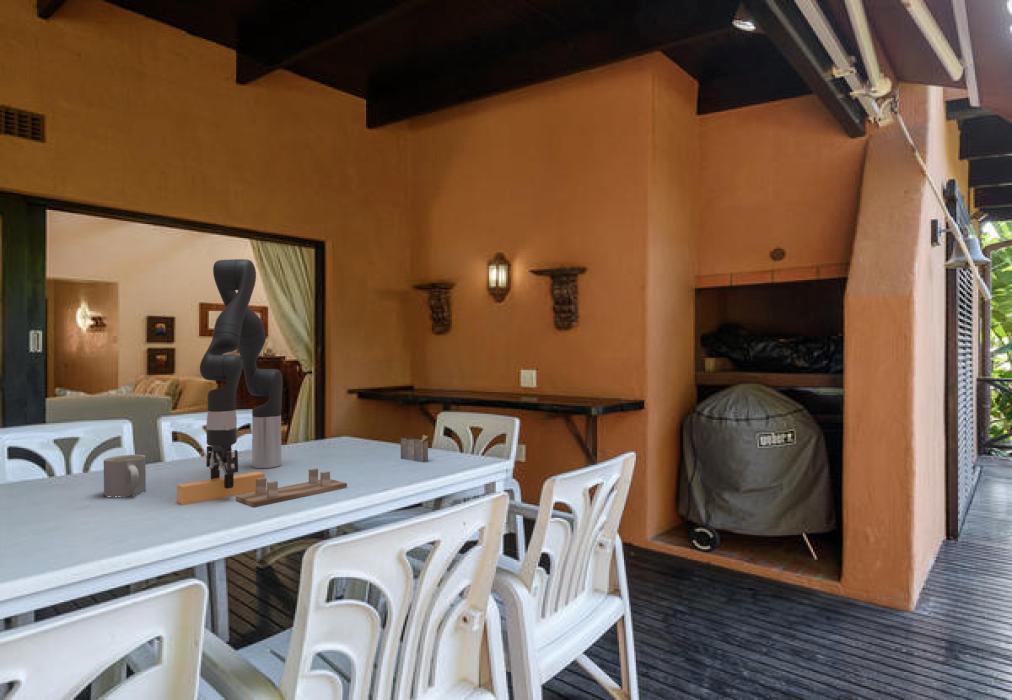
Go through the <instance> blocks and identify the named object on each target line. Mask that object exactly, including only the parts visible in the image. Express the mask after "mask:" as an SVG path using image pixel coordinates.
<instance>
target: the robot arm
mask: <svg viewBox="0 0 1012 700" xmlns="http://www.w3.org/2000/svg"><path fill="white" fill-rule="evenodd" d="M256 270H257V269H256V267H255V265H254V262H252V260H250V259H245V258H239V259H237V258H236V259H220V260H219V259H218V260H217V261H215V262H214V264H213V269H212V271H213V279H214V283H215V285H216V287H217V290H218V292H219V295H220V298H221V300H222V303H223V305H224V307H225V308H223V310H222V311H221V312H220V313H219V315H218V316H217V318H216V320H215V324H214V326H213V327H214V329H213V334H212V340H211V341H210V344H209V345H208V348H207V349H206V351H205V353H204V355H203V357H202V359H201V361H200V363H199V372H200V375H201V376H202V378H203V379H205V380H207V381H226V383H225V385H224V386H223V387H219V388H214V389H211V390H209V391H208V392H207V413H206V445H207V446H206V463H205V464H206V465H205V466H206V467H207V468H208V469H209V471H210V479H215V478H221V476H220V474H221V473H220V468H221V469H222V470H223V474H224V475H223V477H224V488H226V489H228V488H233V486H234V474H235V473H238V472H239V459H238V458H239V457H238V455H239V454H238V453H239V452H238V450H237V449H234V450H232V445H235V444H236V443H237V442H238V441H237V435H238V431H237V429H238V427H237V424H238V422H237V421H238V420H237V419H238V418H237V411H236V406H237V405H236V401H237V400H236V399H237V397H236V396H237V390H238V386H239V382H240V378H241V376H242V371H243V375H244V379H245V385H246V388H247V391H248V393H249V394H250V395H251V396H255V397H268V400H267V401H266V402H265V403H263V404H261V405H257V406H255V407H254V408H252V409H251V410H252V411H251V416H252V417H251V419H252V422H251V423H252V425H251V426H252V429H251V430H252V433H251V434H252V436H251V437H252V438H251V450H252V451H251V457H252V458H251V465H252V468H255V469H270V468H271V469H273V468H278V467H280V466H282V408H283V407H282V405H283V404H282V400H283V399H282V398H283V384H284V383H283V382H284V381H283V374H282V372H281V370H280V369H278V368H276V369H275V368H271V369H270V368H259V367H258V365H257V360H258V358H259V355H260V353H261V351H262V350H263V348H264V346H265V343H266V340H267V339H266V337H267V336H266V333H265V329H264V325H263V322H262V319H261V318H260V316H259V315H258V314H257V313H256V312H255V311H254V310H253V309H251V307H249V304H250V303H251V302H250V301H251V299H252V296H253V291H254V289H255V286H256V281H257V271H256ZM236 350H238V352H239V355H240V356H238V355H237V354H227V353H232V352H235V351H236Z"/></svg>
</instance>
